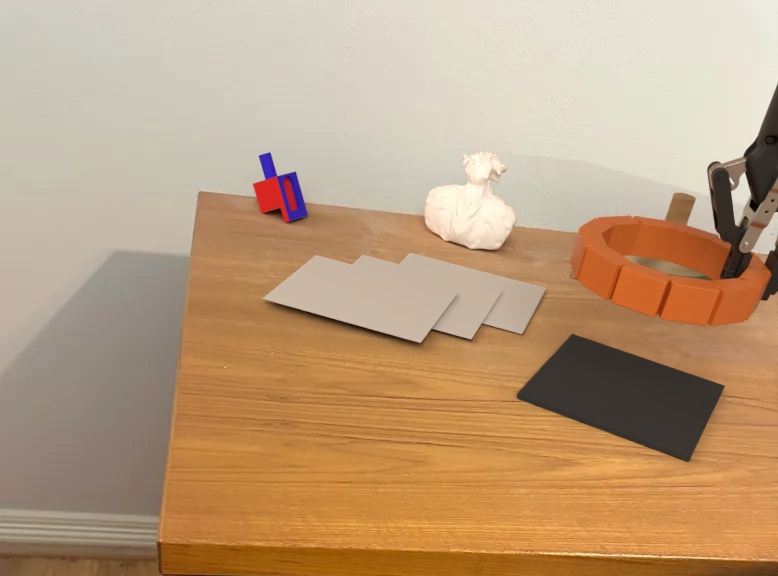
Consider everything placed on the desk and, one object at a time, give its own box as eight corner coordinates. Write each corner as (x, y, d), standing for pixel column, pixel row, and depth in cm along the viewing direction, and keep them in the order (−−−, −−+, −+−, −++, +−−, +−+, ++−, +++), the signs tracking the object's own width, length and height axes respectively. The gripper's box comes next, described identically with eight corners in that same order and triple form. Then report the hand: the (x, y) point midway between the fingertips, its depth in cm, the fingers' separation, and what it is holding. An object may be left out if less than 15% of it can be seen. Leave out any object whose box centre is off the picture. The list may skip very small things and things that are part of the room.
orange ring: (772, 288, 78) (786, 255, 76) (728, 344, 67) (744, 308, 65) (608, 235, 84) (617, 203, 82) (542, 278, 72) (552, 243, 71)
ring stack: (736, 279, 110) (768, 199, 104) (710, 322, 98) (745, 235, 92) (609, 240, 115) (633, 163, 109) (570, 277, 103) (594, 192, 97)
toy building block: (284, 221, 109) (265, 155, 106) (308, 215, 107) (289, 146, 104) (265, 227, 107) (245, 159, 104) (289, 221, 104) (269, 151, 101)
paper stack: (345, 235, 104) (345, 230, 103) (546, 288, 99) (547, 282, 99) (261, 304, 86) (262, 298, 86) (502, 372, 81) (504, 365, 81)
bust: (506, 269, 108) (542, 185, 108) (497, 246, 101) (535, 155, 100) (421, 242, 112) (455, 160, 111) (406, 218, 105) (443, 130, 104)
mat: (722, 390, 85) (725, 385, 85) (688, 462, 73) (691, 456, 73) (570, 338, 90) (572, 333, 89) (516, 398, 78) (517, 392, 78)
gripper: (910, 78, 67) (809, 290, 78) (734, 48, 67) (658, 265, 77) (950, 99, 61) (836, 326, 72) (757, 67, 61) (672, 298, 72)
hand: (744, 293), depth 75 cm, fingers closed on orange ring, 2 cm apart
